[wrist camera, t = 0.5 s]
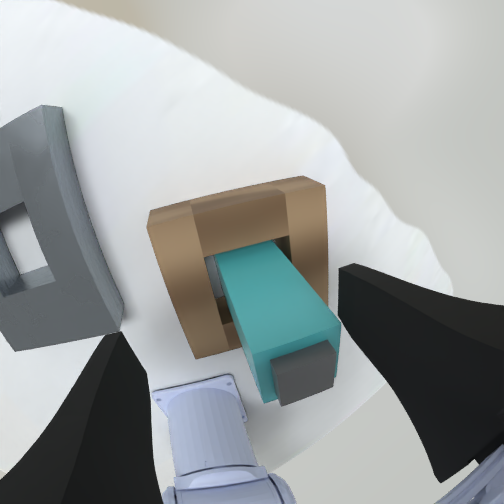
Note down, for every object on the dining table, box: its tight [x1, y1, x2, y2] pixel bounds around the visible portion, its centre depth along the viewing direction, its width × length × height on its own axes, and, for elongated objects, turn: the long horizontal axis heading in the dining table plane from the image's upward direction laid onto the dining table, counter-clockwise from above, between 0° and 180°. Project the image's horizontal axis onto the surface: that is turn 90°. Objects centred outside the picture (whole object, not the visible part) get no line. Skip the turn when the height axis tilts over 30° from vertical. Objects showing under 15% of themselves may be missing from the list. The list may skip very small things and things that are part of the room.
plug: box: [214, 240, 341, 407], centre depth 15 cm, size 4×4×11 cm
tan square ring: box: [146, 176, 328, 359], centre depth 18 cm, size 10×10×3 cm
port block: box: [0, 105, 124, 352], centre depth 13 cm, size 14×10×3 cm
